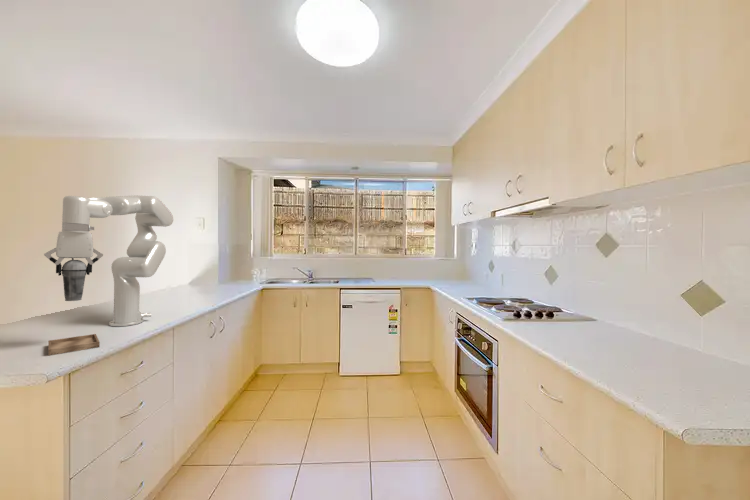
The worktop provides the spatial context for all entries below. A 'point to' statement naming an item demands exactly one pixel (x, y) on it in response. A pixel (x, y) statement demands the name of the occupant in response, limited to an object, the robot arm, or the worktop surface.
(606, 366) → the worktop surface
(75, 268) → the beverage cup
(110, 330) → the worktop surface
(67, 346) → the tray
